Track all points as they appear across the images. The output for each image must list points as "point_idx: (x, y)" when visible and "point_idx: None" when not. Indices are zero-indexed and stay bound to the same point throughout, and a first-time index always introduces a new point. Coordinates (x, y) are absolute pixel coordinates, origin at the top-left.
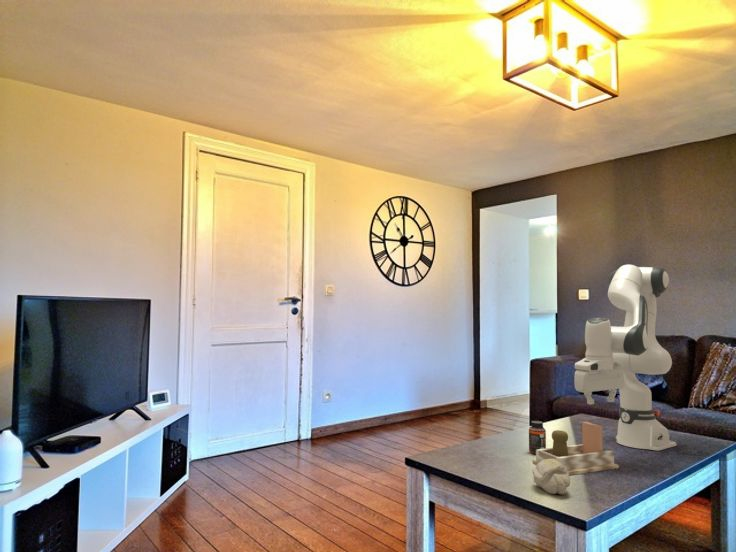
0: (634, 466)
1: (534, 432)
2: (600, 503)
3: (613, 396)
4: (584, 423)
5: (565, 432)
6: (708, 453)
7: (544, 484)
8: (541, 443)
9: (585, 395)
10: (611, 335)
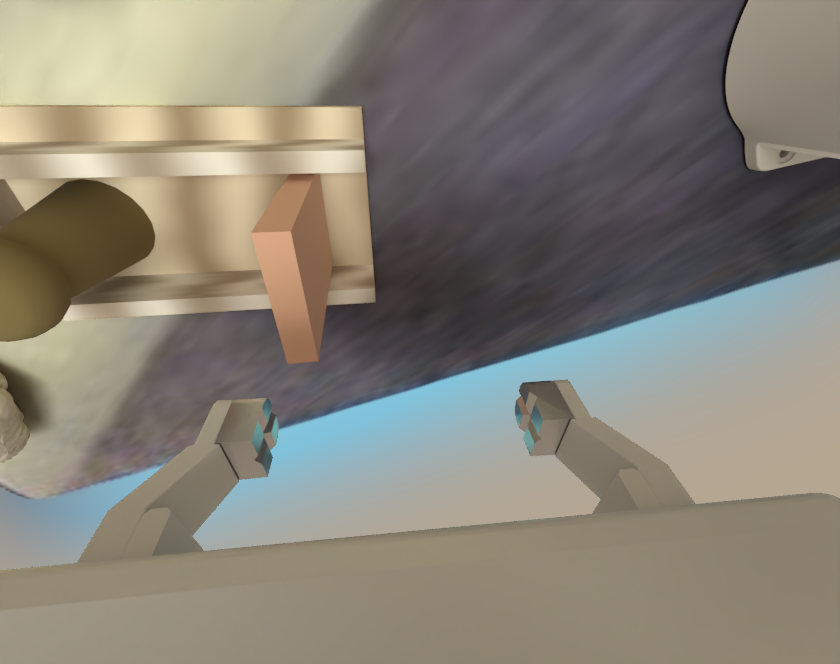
0: (448, 290)
1: None
2: (120, 459)
3: (565, 461)
4: (257, 255)
5: (19, 330)
6: (835, 254)
7: None
8: None
9: (138, 498)
10: None
